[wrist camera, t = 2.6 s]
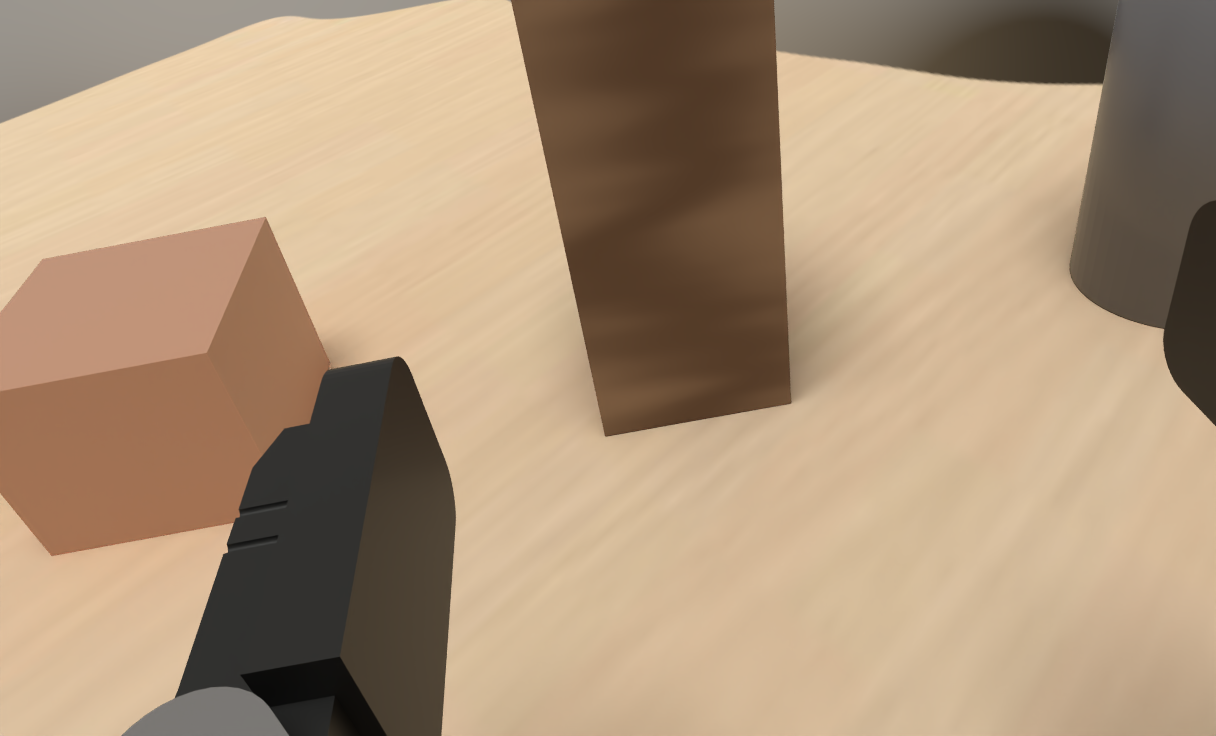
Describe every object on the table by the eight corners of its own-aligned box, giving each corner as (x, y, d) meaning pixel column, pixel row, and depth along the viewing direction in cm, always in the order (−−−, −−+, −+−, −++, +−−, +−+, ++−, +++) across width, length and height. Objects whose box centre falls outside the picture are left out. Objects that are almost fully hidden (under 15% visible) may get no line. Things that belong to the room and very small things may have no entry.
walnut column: (605, 436, 22) (503, -35, 15) (591, 329, 26) (504, -90, 19) (790, 403, 22) (769, -86, 15) (750, 300, 26) (719, -132, 19)
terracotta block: (54, 559, 22) (-73, 404, 19) (133, 402, 27) (42, 259, 24) (294, 515, 22) (206, 353, 19) (331, 365, 27) (265, 216, 24)
